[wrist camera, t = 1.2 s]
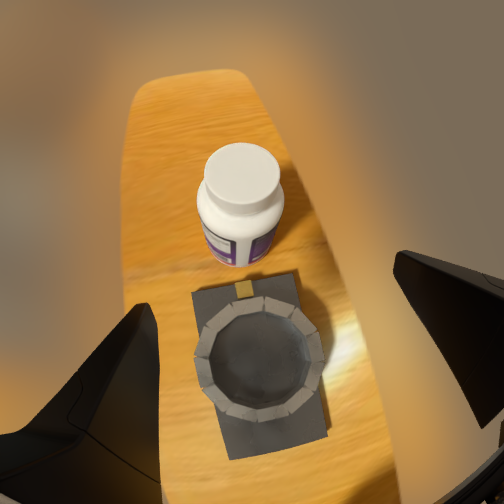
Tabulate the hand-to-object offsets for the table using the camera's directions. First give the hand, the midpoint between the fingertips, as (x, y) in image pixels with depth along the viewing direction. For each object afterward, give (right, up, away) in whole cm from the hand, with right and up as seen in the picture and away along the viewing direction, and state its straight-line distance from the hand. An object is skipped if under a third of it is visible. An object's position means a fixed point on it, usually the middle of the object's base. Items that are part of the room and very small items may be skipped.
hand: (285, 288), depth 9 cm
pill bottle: (-2, +2, +14) cm, 15 cm away
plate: (0, -8, +11) cm, 13 cm away
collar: (-1, -6, +11) cm, 12 cm away
